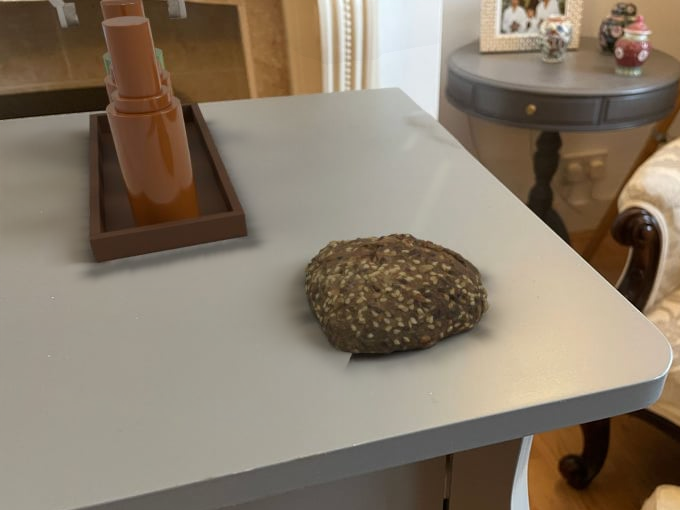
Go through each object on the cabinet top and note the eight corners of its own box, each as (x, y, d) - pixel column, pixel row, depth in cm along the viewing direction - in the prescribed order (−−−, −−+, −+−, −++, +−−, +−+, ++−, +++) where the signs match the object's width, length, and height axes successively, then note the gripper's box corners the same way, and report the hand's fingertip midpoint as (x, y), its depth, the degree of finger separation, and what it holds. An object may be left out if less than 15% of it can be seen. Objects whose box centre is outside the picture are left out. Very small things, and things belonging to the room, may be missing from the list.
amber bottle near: (122, 233, 53) (67, 27, 44) (157, 203, 58) (113, 11, 49) (181, 240, 52) (138, 31, 43) (212, 210, 57) (179, 14, 48)
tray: (248, 241, 53) (244, 213, 52) (98, 269, 50) (89, 239, 48) (200, 123, 76) (196, 101, 75) (95, 137, 73) (89, 114, 71)
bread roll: (316, 369, 40) (310, 303, 37) (300, 264, 50) (294, 206, 48) (514, 343, 42) (522, 279, 39) (460, 247, 52) (464, 191, 49)
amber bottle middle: (118, 193, 60) (70, 5, 51) (150, 169, 64) (111, -7, 55) (171, 199, 58) (132, 8, 50) (200, 174, 63) (168, -5, 54)
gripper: (211, -160, 58) (232, 6, 66) (-48, -160, 52) (8, 23, 60) (223, -161, 53) (244, 19, 61) (-62, -161, 47) (1, 39, 55)
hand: (125, 21), depth 60 cm, fingers open, 8 cm apart
